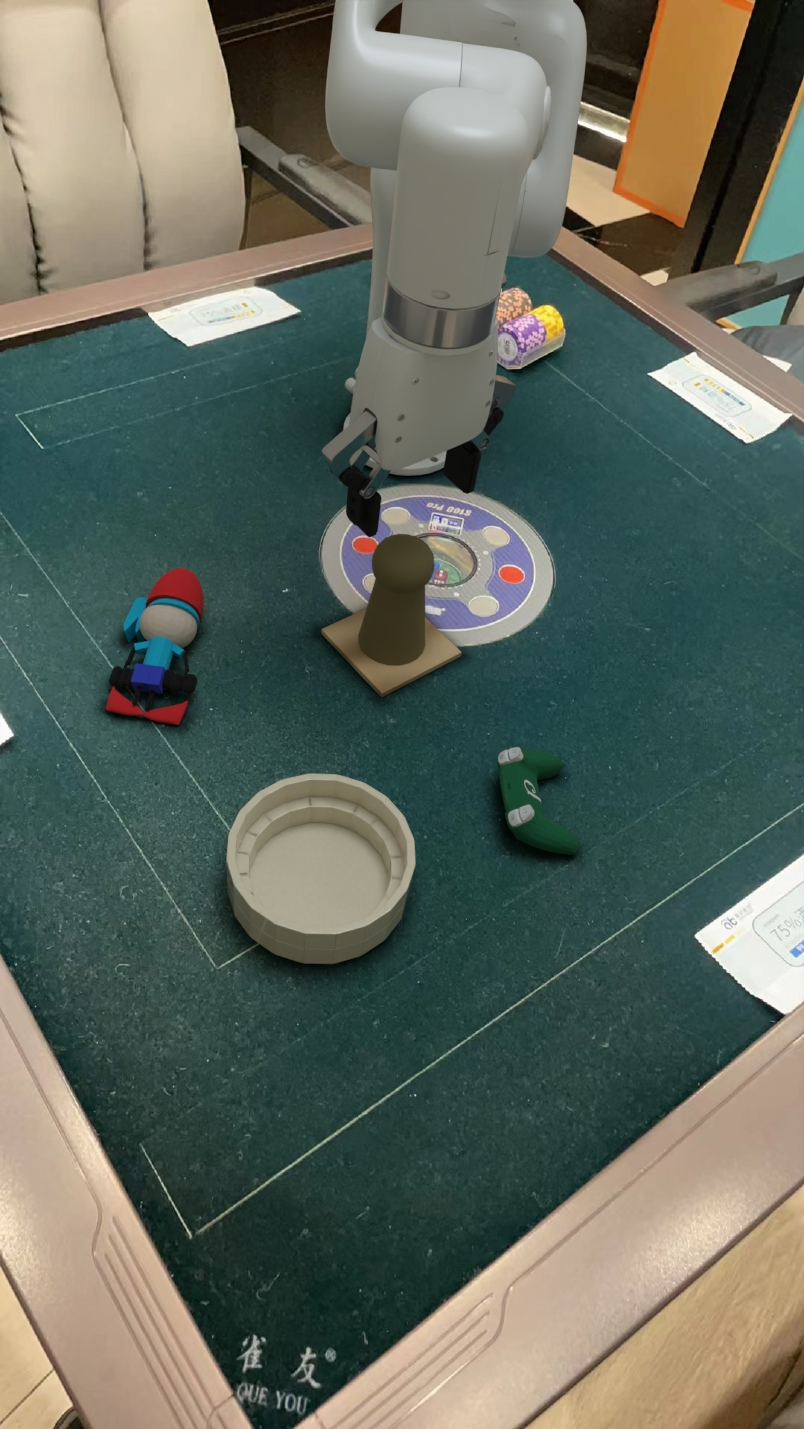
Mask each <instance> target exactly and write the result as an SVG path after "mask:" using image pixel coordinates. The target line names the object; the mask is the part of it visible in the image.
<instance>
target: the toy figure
mask: <svg viewBox="0 0 804 1429" xmlns="http://www.w3.org/2000/svg"><path fill="white" fill-rule="evenodd" d="M204 601H205V597H204V591H203V587H202V583H201V582H200V579H199V578H198V577H197V575H196V574H195V573H194V572H193V571H192V570H190V569H189V568H185V567H176V568H172V569H170V570H169V571H166V572H165V573H164V574H163V575H161V576H160V578H159V579H158V580H157V581H156V582H155V583H154V585H153V587H152V588H151V590H150V591H149V593H148V596H147V597H136V598H135V599H134V601H133V604H132V606H131V608H130V610H129V611H128V614H127V616H126V618H125V620H124V622H123V624H122V626H123V631H124V632H123V633H124V635H125V638H126V640H127V642H128V643H130V642H132V640H133V639H134V638H135V637H136V639H137V641H138V642H135V643H133V644H134V645H133V646H132V648H131V649H130V652H129V653H128V657H127V659H126V660H125V662H124V665H123V667H121V666H120V665H115V666H114V667H113V668H112V670H111V673H110V675H109V678H108V684H109V685H110V686H112V688H111V690H110V693H109V695H108V698H107V702H106V707H105V710H106V711H107V712H111V713H114V714H119V715H123V716H131V717H132V716H133V717H137V716H138V717H140V716H142V717H144V718H145V719H149V720H150V721H154V722H156V723H163V724H166V725H167V724H169V725H175V726H179V725H180V724H181V722H182V720H183V718H184V715H185V713H186V710H187V707H188V704H189V700H186V701H184V702H182V703H178V704H174V705H170V706H169V705H168V706H163V707H160V708H154V709H151V708H152V704H153V700H154V697H155V694H159V695H160V694H161V695H162V694H163V692H164V690H165V691H169V692H170V693H172V694H180V692H181V691H182V693H183V694H185V695H192V694H194V693H195V691H196V689H197V685H198V677H197V675H195V674H194V673H189V672H190V665H189V659H188V655H187V652H185V649H184V648H185V647H187V646H188V645H189V644H191V643H192V642H193V641H194V639H195V637H196V634H197V633H198V632H197V630H198V629H199V627H200V624H201V622H202V618H203V612H204V606H205V602H204ZM145 640H146V641H145ZM140 654H145V656H144V659H143V662H142V663H135V666H134V667H133V668H130V667H128V666H130V665H131V664H132V662H133V659H134V657H135V655H140ZM173 656H175V657H177V658H178V659H180V660H181V659H182V660H183V665H184V672H183V674H182V673H181V672H175V671H174V670H173V669H170V667H171V662H172V659H173ZM115 686H119V687H121V688H129V689H133V691H135V692H134V696H133V700H132V701H131V700H129V699H128V698H126V697H125V696H124V695H122V694H121V693H120V692H119V691H118V690H117V689H116V687H115ZM141 692H145V693H149V694H148V698H147V701H146V704H145V710H146V711H143V709H141V708H140V707H139V706H138V703H139V699H140V696H141Z"/></svg>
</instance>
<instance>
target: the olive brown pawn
mask: <svg viewBox="0 0 804 1429" xmlns="http://www.w3.org/2000/svg"><path fill="white" fill-rule="evenodd" d="M435 566H436V563H435V555H434V552H433V551H432V549H431V548H430V546H429V544H428V543H427V542H425V540H424V539H422V538H420V537H418V536H416V535H412V534H408V533H397V534H391V535H388V536H387V537H385V538H384V539H382V540H381V541H380V542H379V543H378V544H377V545H376V547H375V549H374V552H373V554H372V556H371V570H372V574H373V576H374V578H375V579H374V583H373V586H372V589H371V592H370V596H369V599H368V602H367V605H366V608H367V609H366V608H365V609H366V612H365V615H364V618H363V622H362V625H361V628H360V632H359V635H358V642H359V645H360V647H361V650H362V651H363V652H364V653H365V654H366V655H367V656H368V657H369V658H370V659H372V660H374V661H376V662H378V663H381V664H385V665H393V666H400V665H404V664H409V663H411V662H413V661H415V660H416V659H418V658H419V657H420V655H421V654H422V653H423V651H424V648H425V617H426V586H427V585H428V583H430V581H431V579H432V577H433V574H434V571H435Z"/></svg>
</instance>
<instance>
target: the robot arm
mask: <svg viewBox="0 0 804 1429" xmlns="http://www.w3.org/2000/svg"><path fill="white" fill-rule="evenodd" d="M400 4H402V5H401V6H402V7H401V16H400V17H401V18H400V28H399V33H393V32H385V31H378V30H376V28H377V26H378V24H379V23H380V21H381V20H382V19H384V17H385V16H386V15H387V14H388V13H389V12H390V11H392V10H393V9H394V8H395V7H397V6H398V5H400ZM587 37H588V36H587V28H586V22H585V18H584V15H583V13H582V11H581V9H580V7H579V6H578V4H576V3H575V2H574V1H573V0H335V2H334V8H333V17H332V28H331V37H330V47H329V52H328V54H329V55H328V64H327V72H326V84H325V100H324V101H325V102H324V104H325V105H324V107H325V109H324V110H325V123H326V129H327V133H328V137H329V139H330V141H331V142H330V143H331V144H332V146H333V148H334V150H336V152H337V153H338V154H339V155H340V156H341V157H342V158H343V159H345V160H346V161H347V162H350V163H351V164H353V165H357V166H359V167H366V168H370V172H369V173H370V176H369V181H370V182H369V187H370V188H369V192H370V208H371V209H370V211H371V224H372V225H371V226H372V256H371V260H372V261H371V274H370V275H371V276H370V288H369V299H368V300H369V301H368V303H369V304H368V310H367V323H366V334H365V341H364V345H363V347H362V351H361V355H360V359H359V363H358V366H357V368H356V369H355V371H354V377H349V378H347V379H346V380H345V382H344V388H345V389H346V390H347V391H348V392H349V393H350V394H352V399H351V400H352V401H351V406H350V412H349V414H348V415H347V416H346V418H345V420H344V423H343V428H342V429H343V430H341V431H340V432H339V434H337V435H336V436H335V437H333V439H332V440H330V441H329V442H328V443H327V444H326V445H324V446H323V448H322V450H321V453H320V454H321V456H322V459H323V460H324V462H325V463H326V465H327V467H328V468H329V472H330V473H332V475H334V476H335V478H336V479H338V481H340V482H341V483H342V484H343V486H345V487H347V492H346V493H347V494H346V505H345V514H346V517H347V519H348V520H349V522H350V523H351V524H353V526H357V528H358V529H359V530H361V531H362V533H364V534H365V535H366V537H367V538H372V537H374V536H376V535H377V533H378V532H379V524H380V516H381V515H380V514H381V506H382V496H381V493H379V491H378V490H379V489H380V487H381V485H382V484H383V483H384V482H385V480H386V479H387V477H388V476H389V475H395V476H407V477H409V476H423V475H429V474H432V473H434V472H437V471H440V470H442V469H443V470H442V473H443V476H444V477H446V478H447V480H449V481H450V482H451V483H452V484H453V485H454V486H455V487H456V488H458V489H459V490H460V491H461V492H462V493H463V494H466V495H468V494H471V493H473V492H474V491H475V487H476V482H477V477H478V472H479V469H480V468H479V467H480V463H481V457H482V453H481V451H485V450H486V449H487V448H488V447H489V446H490V443H491V438H490V435H491V434H492V433H493V432H494V430H495V429H496V427H498V426H499V424H500V423H501V422H502V420H503V418H504V417H505V416H504V415H505V413H504V409H507V407H508V406H509V404H510V401H511V400H512V398H513V396H514V395H515V393H516V391H517V385H516V384H515V383H513V382H512V381H511V380H510V379H508V378H507V377H506V376H503V375H499V374H497V368H498V358H499V322H498V318H497V312H498V308H499V303H500V299H501V298H500V297H501V292H502V289H503V288H505V287H506V285H507V274H506V272H505V269H506V264H507V260H508V257H514V258H528V259H530V258H537V257H538V258H539V257H541V256H544V255H545V254H547V253H548V252H550V251H551V250H552V248H553V247H554V246H555V244H556V243H557V240H558V239H559V236H560V234H561V230H562V227H563V223H564V219H565V214H566V209H567V202H568V195H569V190H570V181H571V174H572V167H573V161H574V160H573V159H574V153H575V152H574V151H575V146H576V139H577V133H578V132H577V131H578V122H579V119H580V118H579V117H580V110H581V102H582V95H583V89H584V82H585V72H586V62H587V49H588V39H587ZM365 466H367V467H369V468H372V470H371V471H370V472H369V474H368V475H366V473H365V474H364V472H362V470H363V469H364V468H365Z"/></svg>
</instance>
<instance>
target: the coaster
mask: <svg viewBox="0 0 804 1429" xmlns="http://www.w3.org/2000/svg"><path fill="white" fill-rule="evenodd" d="M366 609H367V607H366V608H363V609H362V610H360V611H358V612H355V613H353V614H351V615H349V616H347V617H345V618H342V619H340V620H338V621H336V622H334V623H332V624H330V625H327V626H325V627H323V628H321V631H320V633H321V635H322V636H323V637H324V639H325V640H327V642H328V643H329V644H330V645H331V646H332V647H333V648H334V649H335V650H336V651H337V652H338V653H339V654H340V655H341V656H342V658H343V659H345V661H346V662H347V663H348V664H349V665H350V666H351V667H352V668H353V670H355V672H357V673H358V675H360V677H361V678H362V679H364V681H365V682H366V683H367V684H368V685H369V686H370V687H371V689H372V690H374V692H376V693H377V695H378V696H379V697H380V698H384V697H386V696H387V695H389V694H392V693H393V692H395V691H398V690H400V689H401V688H403V687H405V686H406V685H409V684H410V683H413V682H414V681H417V680H418V679H420V678H422V677H424V676H426V675H428V674H430V673H431V672H434V671H436V670H438V669H439V668H441V667H443V666H445V665H447V664H449V663H451V662H453V661H454V660H457V659H459V658H460V657H461V656H462V651H461V650H460V649H459V648H458V646H456V645H455V644H454V643H452V641H451V640H449V639H448V638H447V637H446V635H444V633H443V632H441V630H440V629H438V627H436V626H435V625H434V624H433V623H432V622H431V621H430V620H429V619H428V618H427V616H425V648H424V651H423V653H422V654H421V655H420V657H419V658H418V659H416V660H415V661H413V662H411V663H409V664H404V665H400V666H393V665H385V664H381V663H378V662H376V661H374V660H372V659H370V658H369V657H368V656H367V655H366V654H365V653H364V652H363V651H362V650H361V647H360V645H359V642H358V635H359V632H360V628H361V625H362V622H363V618H364V615H365V612H366Z"/></svg>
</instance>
